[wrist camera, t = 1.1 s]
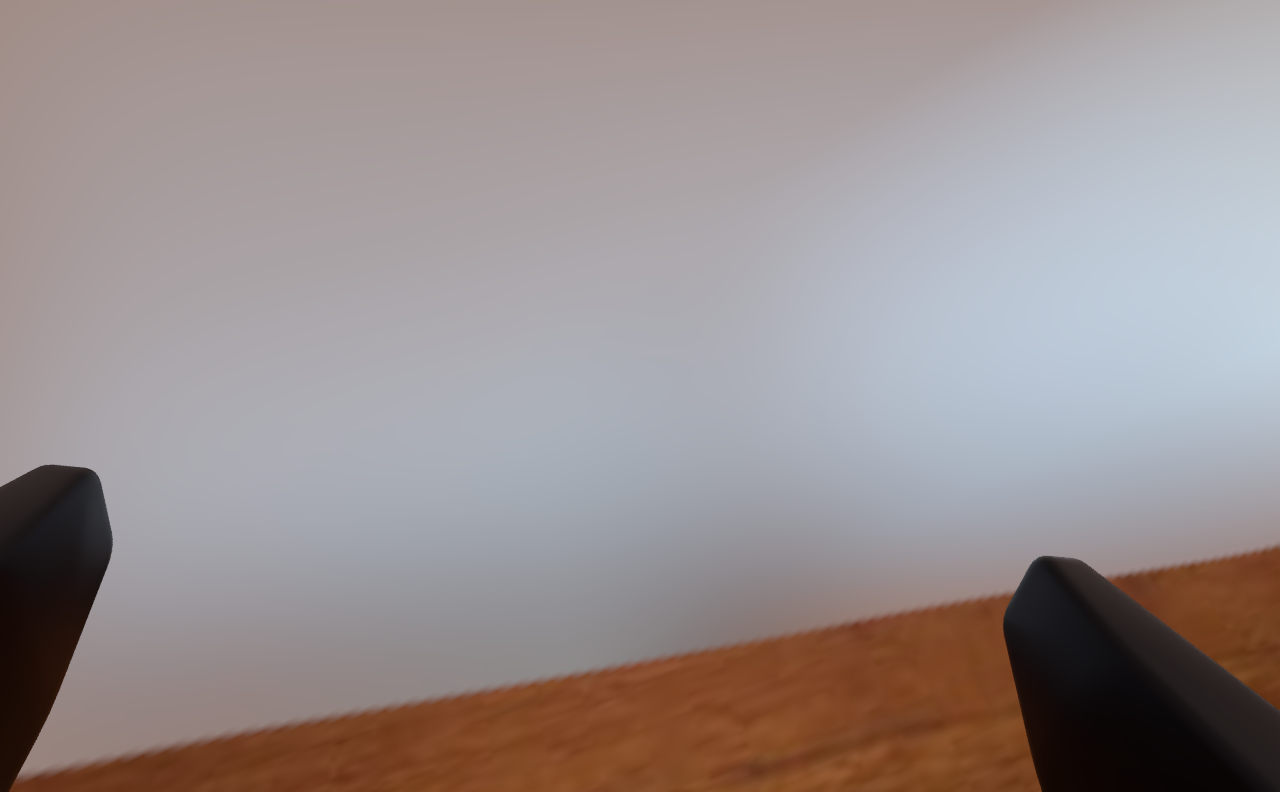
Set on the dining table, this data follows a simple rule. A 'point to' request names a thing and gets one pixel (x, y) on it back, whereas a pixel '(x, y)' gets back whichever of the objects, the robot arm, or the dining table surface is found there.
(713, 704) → the dining table surface
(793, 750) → the dining table surface
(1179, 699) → the robot arm
